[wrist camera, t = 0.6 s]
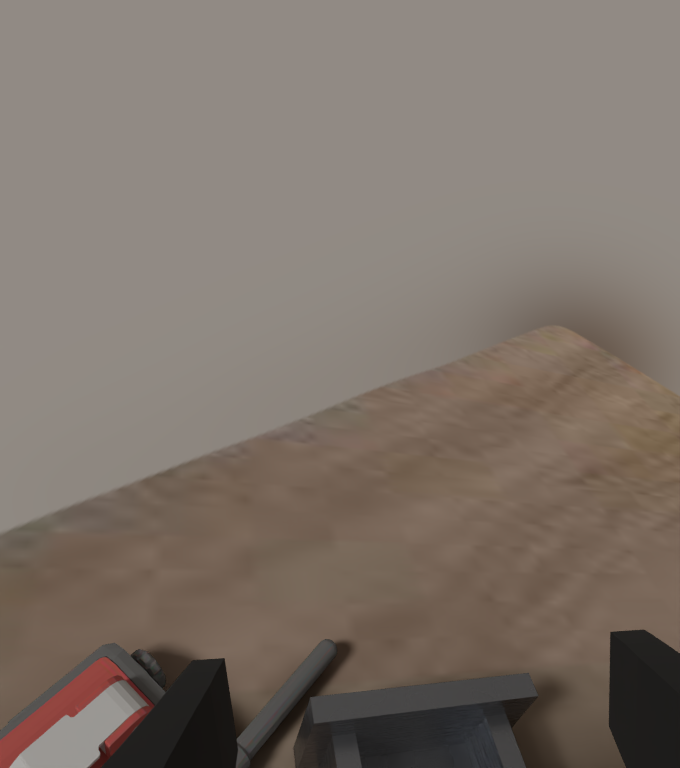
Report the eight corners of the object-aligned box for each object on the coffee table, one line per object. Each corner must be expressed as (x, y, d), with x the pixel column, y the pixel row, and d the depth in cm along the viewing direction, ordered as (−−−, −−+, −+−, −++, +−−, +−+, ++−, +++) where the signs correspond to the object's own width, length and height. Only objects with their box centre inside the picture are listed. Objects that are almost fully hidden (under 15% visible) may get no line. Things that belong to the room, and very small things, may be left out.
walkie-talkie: (-77, 1205, 16) (345, 670, 30) (-123, 1217, 14) (362, 624, 28) (-210, 936, 20) (224, 567, 34) (-268, 904, 17) (230, 518, 31)
